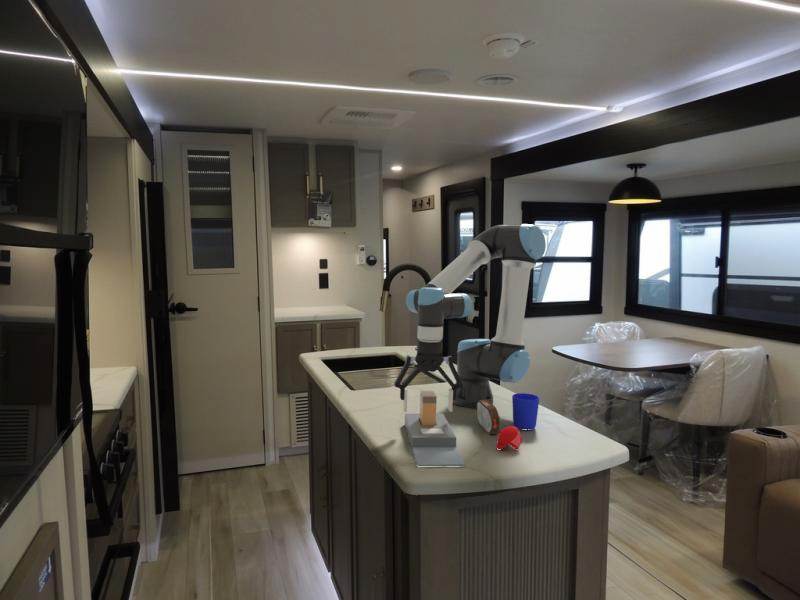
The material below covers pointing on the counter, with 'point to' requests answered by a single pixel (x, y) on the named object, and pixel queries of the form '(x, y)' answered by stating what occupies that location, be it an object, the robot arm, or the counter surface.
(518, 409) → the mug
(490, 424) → the tin
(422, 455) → the mat
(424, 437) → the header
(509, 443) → the cap
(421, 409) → the plug
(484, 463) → the counter surface
